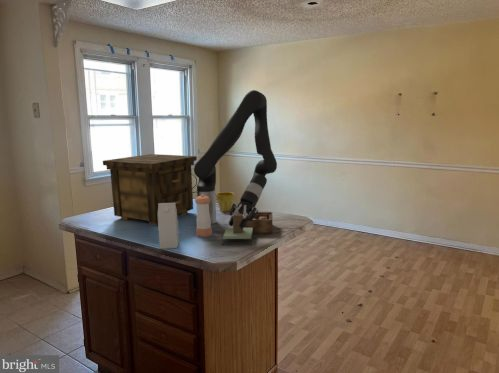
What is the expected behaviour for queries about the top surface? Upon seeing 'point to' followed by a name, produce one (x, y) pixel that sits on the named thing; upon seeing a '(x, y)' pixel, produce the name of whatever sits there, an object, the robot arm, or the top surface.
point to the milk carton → (167, 225)
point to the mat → (238, 241)
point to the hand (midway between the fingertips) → (235, 226)
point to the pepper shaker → (203, 216)
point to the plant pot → (225, 200)
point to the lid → (237, 229)
